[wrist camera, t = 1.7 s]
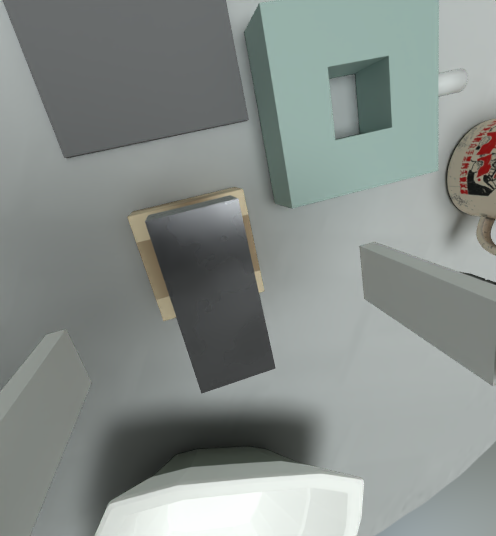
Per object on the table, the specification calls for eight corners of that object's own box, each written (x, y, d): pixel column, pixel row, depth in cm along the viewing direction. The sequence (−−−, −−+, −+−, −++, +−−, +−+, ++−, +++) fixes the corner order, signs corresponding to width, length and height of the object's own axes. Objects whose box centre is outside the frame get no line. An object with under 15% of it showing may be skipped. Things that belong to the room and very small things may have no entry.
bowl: (107, 401, 27) (82, 494, 19) (335, 399, 34) (385, 469, 26) (95, 575, 33) (71, 702, 25) (291, 546, 39) (322, 640, 31)
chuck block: (274, 203, 25) (292, 208, 22) (244, 32, 21) (259, 3, 18) (436, 162, 28) (476, 160, 24) (435, 1, 24) (484, -31, 20)
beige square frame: (164, 305, 26) (163, 321, 23) (132, 211, 23) (127, 217, 20) (254, 278, 27) (264, 291, 24) (234, 187, 24) (242, 189, 22)
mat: (66, 158, 21) (64, 157, 21) (-12, -44, 17) (-17, -50, 17) (247, 120, 23) (248, 119, 23) (210, -68, 19) (211, -74, 19)
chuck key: (189, 303, 26) (201, 393, 16) (157, 198, 23) (144, 221, 13) (234, 290, 27) (275, 368, 16) (208, 186, 24) (238, 198, 13)
